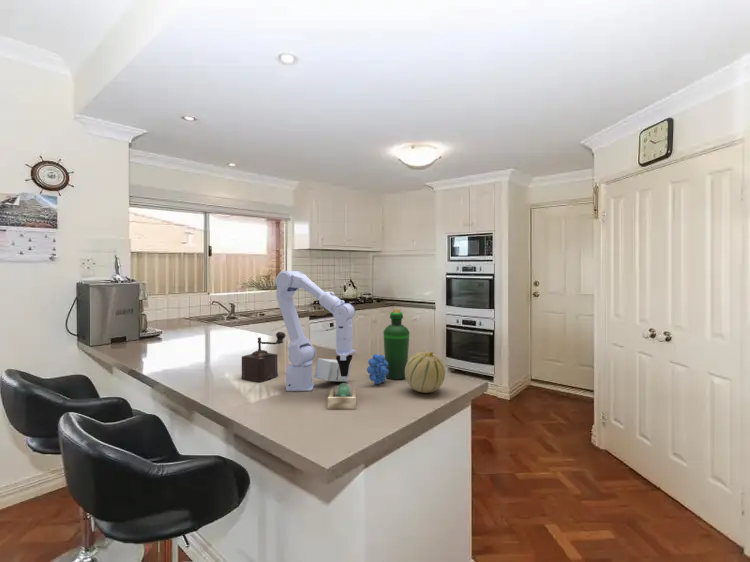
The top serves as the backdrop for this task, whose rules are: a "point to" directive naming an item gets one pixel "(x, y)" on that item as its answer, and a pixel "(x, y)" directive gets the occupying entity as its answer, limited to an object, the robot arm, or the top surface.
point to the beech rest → (342, 401)
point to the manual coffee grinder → (261, 363)
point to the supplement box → (330, 370)
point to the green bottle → (343, 390)
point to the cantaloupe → (425, 372)
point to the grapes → (377, 368)
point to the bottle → (396, 346)
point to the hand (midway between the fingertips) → (344, 376)
